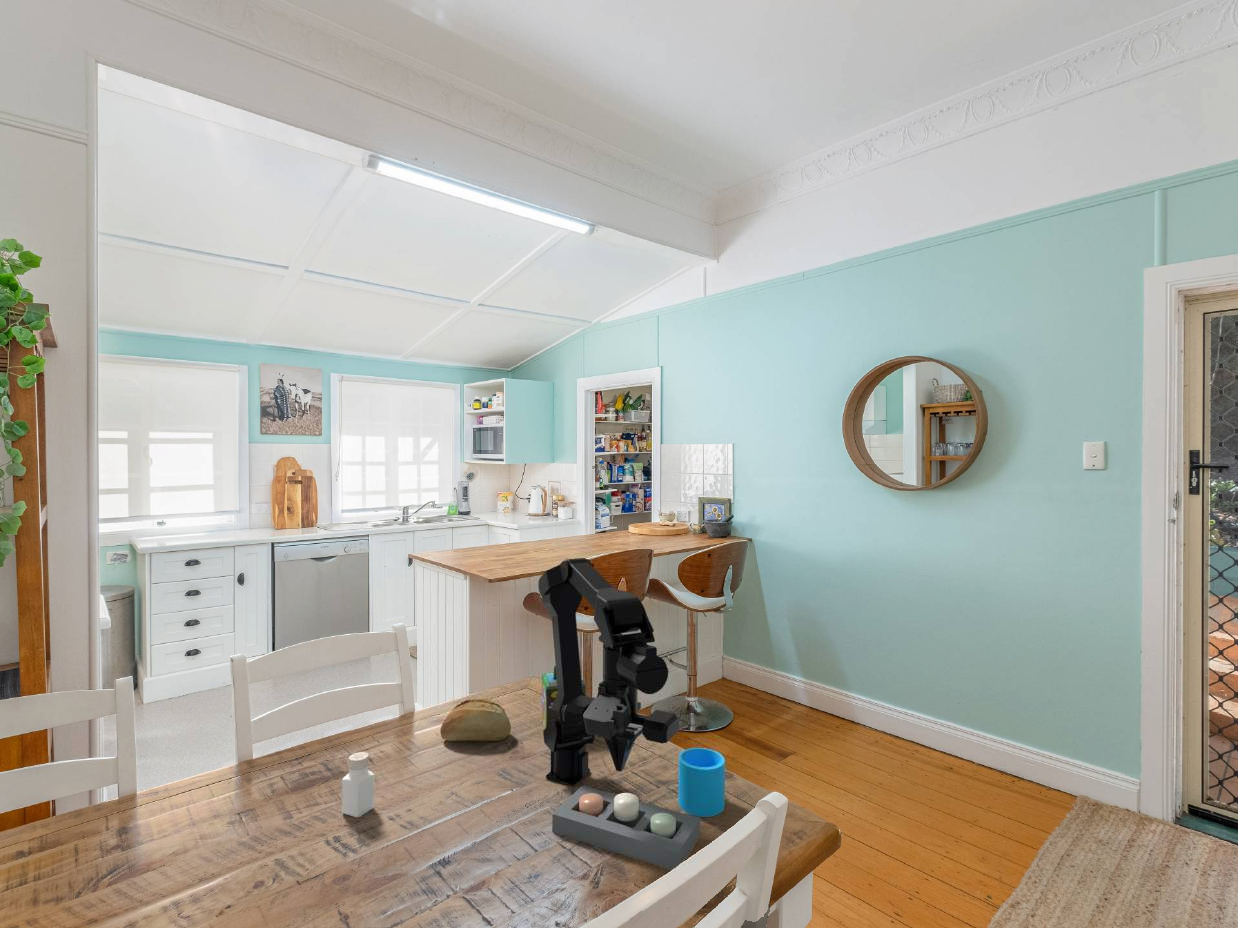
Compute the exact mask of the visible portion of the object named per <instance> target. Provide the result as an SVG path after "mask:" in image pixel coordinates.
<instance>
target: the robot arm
mask: <svg viewBox="0 0 1238 928" xmlns="http://www.w3.org/2000/svg"><path fill="white" fill-rule="evenodd" d="M537 584H538V585H537V586H538V592H539V594H540V595H541V596H540V598H541V604H542V605H543V607H544V608H545V609H546V610H547V613H549V615H550V617H551V624H552V625H551V626H552V639H553V648H554V649H553V650H554V651H553V652H554V661H555V666H556V676H557V688H558V694H557V696H556V698H555V701H554V703H553V705H552V707H551V720H550V722H549V723H548V725H547V726H546V728H545V730H543V733H542V734H543V743H544V745H545V746H546V747H547V748H548V749H549V750H550V768H549V769H550V772H547V774H546V775H545V778H546V780H550V781H553V782H558V783H562V784H565V785H568V786H571V787H574V786H575V787H576V786H577V785H578V784H579V783H580V782H581V781H582V780H583V779H584V778H585V777H586V776H588V775H589V774H590V773H591V769H590V768H589V752H588V751H587V745H593V744H594V741H595V738H596V737H595V736H598V737H602V739H604V741H605V744H606V746H607V748H608V751H609V754H610V756H611V759H612V762H613V765H614V768H615V770H616V772H620V773H621V772H623V770H624V769H625V766H626V764H627V760H628V758H629V756H630V754H631V751H632V748H633V746H634V744H635V742H636V740H637V738H639V737H640V736H641V735H642V736H643V737H644V738H645V740H646V741H649V742H655V743H659V744H668V742H669V741H671V739H673V737H674V736H675V735H676V734H677V733H678V732H680V720H679V717H678V716H677V714H676V713H674V712H668V711H665V710H664V711H663V710H660V709H659V710H658V709H655V710H654V711H653V712H651V714H649V715H646V714H643V713H639V711H640V710H641V709H642V703H641V701H640V702H639V701H638V700H639V699H638V698H639V697H638V691H640V692H641V693H643V694H645V695H655V694H656V693H658V692H660V691H661V690H662V689H663V688H664V686H665V685H666V683H667V681H668V678H669V668H668V665H667V663H666V660H664V659H663V657H660V655H658V648H657V647H656V646H654V645H649V644H648V643H655V642H656V641H655V635H654V632H655V631H654V630H655V629H654V628H653V626H652V623H651V621H650V619H649V617H648V614H647V610H646V608H645V606H644V605H643V603H642V601H641V600H640V598H639V597H637V596H636V595H634V594H633V593H631V592H629V591H626V590H622V589H618V588H616V587H614V586H613V584H611V583H610V582H609V581H608V580H607V579H606V578H605V577H604V576H603V575H602V574H601V573H600V572H599V571H597V569H596V568H594V567H593V565H592V563H591V561H590V559H588V558H585V557H577V558H566V559H565V560H562V561H561V562H560V564H558V565H556V566H553V567H552V568H549V569H548V570H546V571H545V572H543V574H542V575H541V576H540V577H539V579H538V583H537ZM583 598H584V600H585V601H586V602H587V603H588V604H589V605H590V606H591V607H592V609H593V610H594V614H593V621H594V622H595V624H596V626H597V629H598V630H599V632H600V635H599V636H598V641H599V642H601V643H602V681H601V682H599V683H598V688H597V693H596V694H597V695H596V697H592V696H587V694H586V695H585V694H584V692H583V688H582V678H581V675H582V668H581V658H580V646H579V635H578V624H577V623H578V622H577V613H578V610H579V608H580V606H581V604H582V601H583ZM638 631H640V632H638Z"/></svg>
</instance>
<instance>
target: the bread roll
mask: <svg viewBox="0 0 1238 928" xmlns="http://www.w3.org/2000/svg"><path fill="white" fill-rule="evenodd" d="M439 731H440V737H441V738H442V740H445V741H446V742H454V741H457V742H458V741H459V742H462V741H464V742H465V741H466V742H467V741H468V742H469V741H472V742H474V741H479V742H480V741H481V742H483V741H485V742H495V741H497V742H498V741H503V740H504V739H506V738H507V737H508V736H509V735H510V734H511V731H512V726H511V721H510V719H509V717H508V715H507V713H506V711H505V708H503V706H502V705H500V704H499V703H498V702H496V701H495V700H491V699H487V698H486V699H485V698H472V699H467V700H464V701H461V702H460V703H458V704H456V705H455V707H453V709H452V710H451V711H450V712H449V713H448V714H447V716H446V717H445V719H444V721H443V722H442V724H441V727H440V729H439Z"/></svg>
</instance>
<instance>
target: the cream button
mask: <svg viewBox="0 0 1238 928" xmlns="http://www.w3.org/2000/svg"><path fill="white" fill-rule="evenodd" d="M616 795H617V796H615V798H614V816H615V817H616V818H617V819H619V820H621V821H632V820H635V819H636V818H637V817H638V812H639V800H640V799H639V797H638V796H637V795H636V794H634V793H629V792H622V793H619V794H616Z"/></svg>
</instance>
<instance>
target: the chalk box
mask: <svg viewBox="0 0 1238 928" xmlns="http://www.w3.org/2000/svg"><path fill="white" fill-rule="evenodd" d="M581 678H582V688H583V692H584V694H585V695H586V696H587V683H586V681H585V678H584V677H583V675H582V674H581ZM557 694H558V688H557V676H556V665H555V666H554V667H553V672H545V673H542V674H541V714H542V715H541V716H542V717H541V719H542V720H541V723H542V726H543V729H544V730H545V728H546V726H547V725H548V723H549V722H550V720H551V707H552V705H553V703H554V701H555V698H556V696H557ZM544 730H543V731H544Z"/></svg>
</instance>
